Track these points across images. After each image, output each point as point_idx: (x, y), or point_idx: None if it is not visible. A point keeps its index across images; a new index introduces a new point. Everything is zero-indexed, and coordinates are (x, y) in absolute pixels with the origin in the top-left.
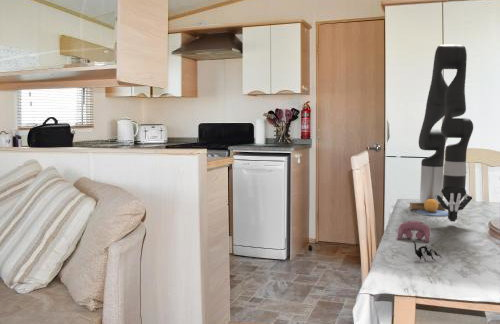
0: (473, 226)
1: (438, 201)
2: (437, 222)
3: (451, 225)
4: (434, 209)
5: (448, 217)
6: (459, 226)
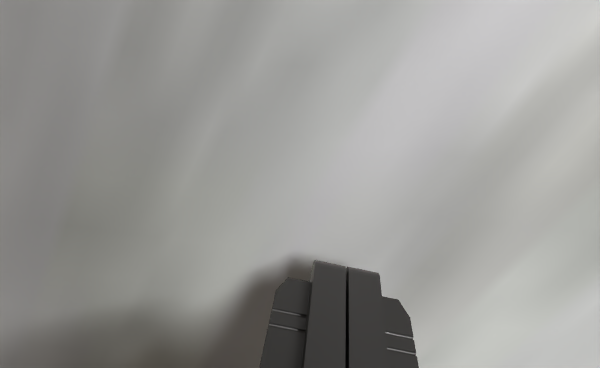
0: (580, 346)
1: None
2: (208, 70)
3: None
4: None
5: (276, 311)
6: None
